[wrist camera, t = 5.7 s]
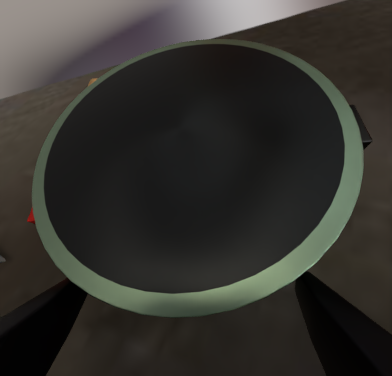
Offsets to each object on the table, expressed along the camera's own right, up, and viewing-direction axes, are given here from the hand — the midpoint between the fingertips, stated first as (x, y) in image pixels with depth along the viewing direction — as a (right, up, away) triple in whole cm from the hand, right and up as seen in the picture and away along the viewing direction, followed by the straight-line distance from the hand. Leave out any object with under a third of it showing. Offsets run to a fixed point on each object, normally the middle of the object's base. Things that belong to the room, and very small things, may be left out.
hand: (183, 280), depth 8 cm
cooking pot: (+1, +3, +9) cm, 10 cm away
